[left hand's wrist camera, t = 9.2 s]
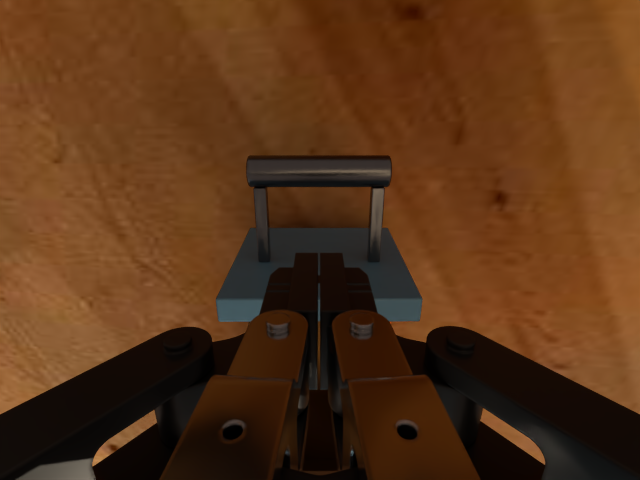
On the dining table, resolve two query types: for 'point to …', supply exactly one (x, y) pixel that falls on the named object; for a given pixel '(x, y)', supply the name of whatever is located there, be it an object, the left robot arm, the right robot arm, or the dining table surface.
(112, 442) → the dining table surface
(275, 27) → the dining table surface
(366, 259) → the drawer
